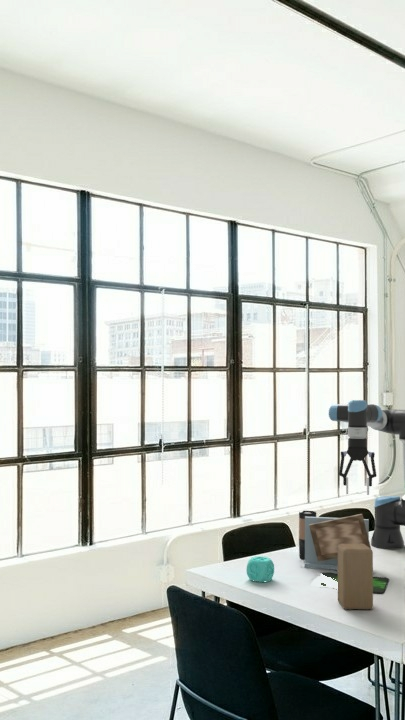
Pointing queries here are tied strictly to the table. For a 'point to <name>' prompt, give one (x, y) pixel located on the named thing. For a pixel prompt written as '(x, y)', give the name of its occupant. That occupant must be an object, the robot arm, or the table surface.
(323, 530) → the walnut frame
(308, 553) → the grey board
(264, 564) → the decorative dice
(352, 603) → the wooden block
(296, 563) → the table surface
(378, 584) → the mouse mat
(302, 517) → the travel mug
